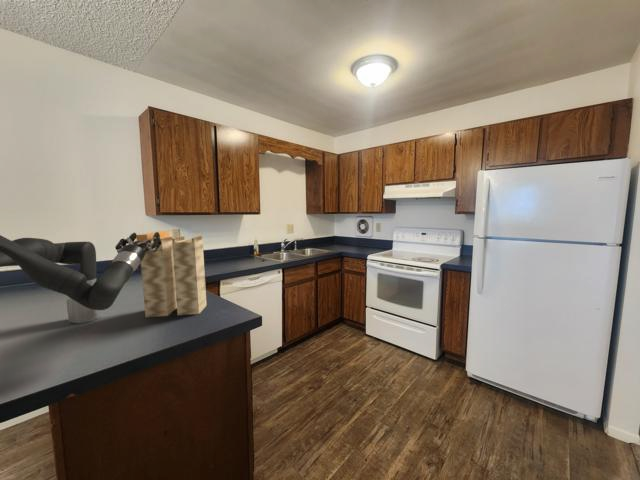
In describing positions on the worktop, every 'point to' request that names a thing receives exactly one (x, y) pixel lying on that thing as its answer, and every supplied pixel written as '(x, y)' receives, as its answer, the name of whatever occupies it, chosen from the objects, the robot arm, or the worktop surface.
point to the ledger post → (189, 275)
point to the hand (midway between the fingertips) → (146, 234)
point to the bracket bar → (150, 235)
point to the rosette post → (159, 280)
